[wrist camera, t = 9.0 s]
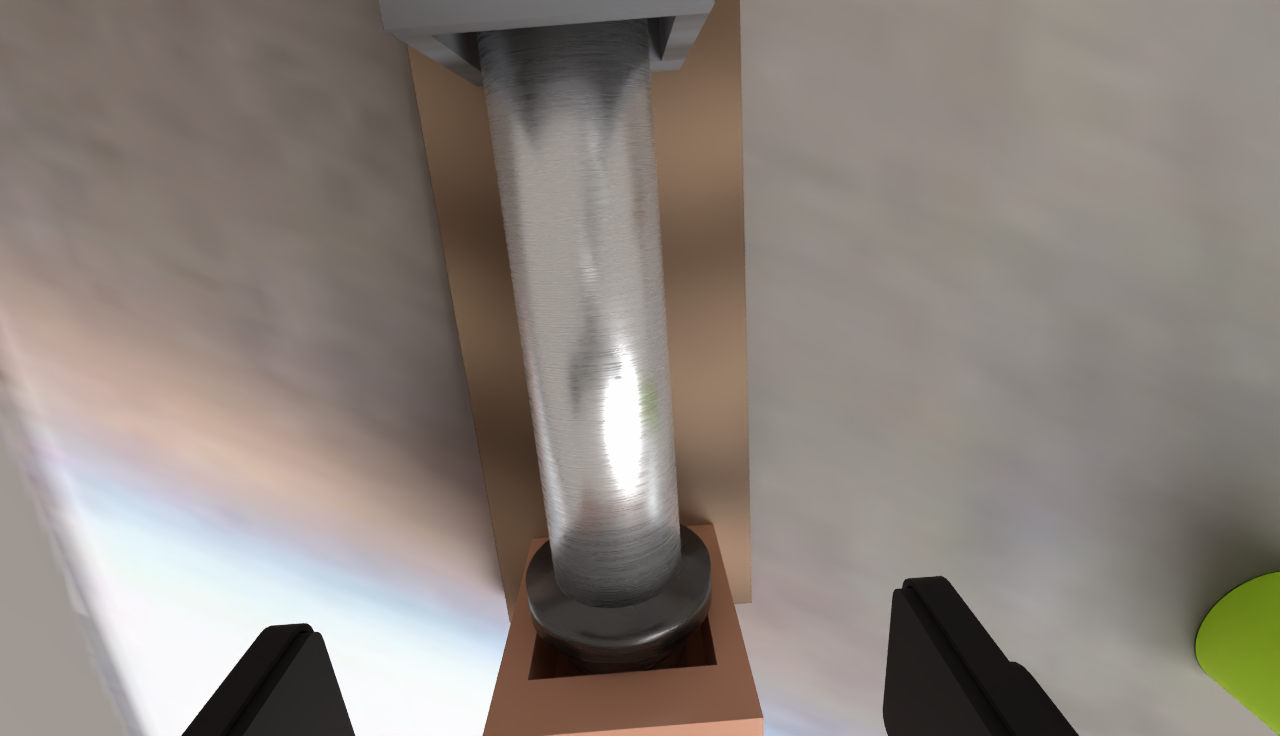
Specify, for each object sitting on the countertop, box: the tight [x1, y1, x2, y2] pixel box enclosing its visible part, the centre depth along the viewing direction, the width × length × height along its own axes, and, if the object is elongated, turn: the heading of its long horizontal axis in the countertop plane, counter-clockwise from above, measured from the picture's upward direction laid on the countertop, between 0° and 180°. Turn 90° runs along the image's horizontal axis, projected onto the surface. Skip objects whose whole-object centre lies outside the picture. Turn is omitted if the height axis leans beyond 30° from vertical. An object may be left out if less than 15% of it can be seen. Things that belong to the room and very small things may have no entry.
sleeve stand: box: [378, 0, 752, 622], centre depth 15 cm, size 28×9×8 cm, turn 4°
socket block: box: [483, 524, 764, 736], centre depth 18 cm, size 4×6×8 cm, turn 94°
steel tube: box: [476, 18, 712, 677], centre depth 15 cm, size 21×5×5 cm, turn 4°
